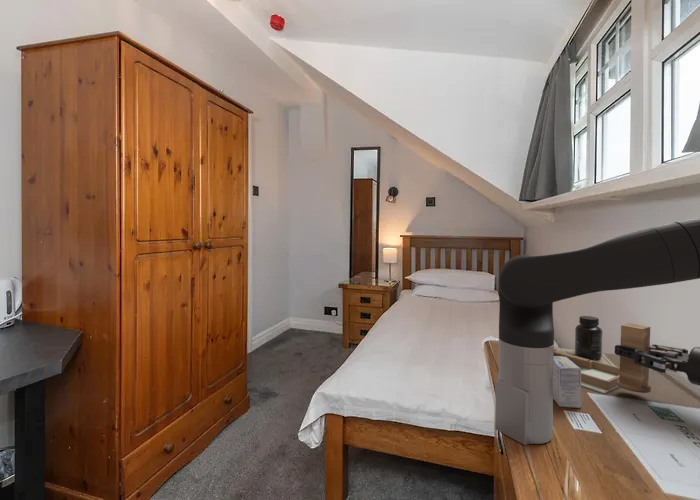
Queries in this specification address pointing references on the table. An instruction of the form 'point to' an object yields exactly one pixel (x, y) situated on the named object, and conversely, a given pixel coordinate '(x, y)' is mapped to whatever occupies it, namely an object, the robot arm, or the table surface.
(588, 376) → the keyhole board
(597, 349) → the supplement bottle
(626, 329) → the walnut keyhole peg
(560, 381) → the medicine box
